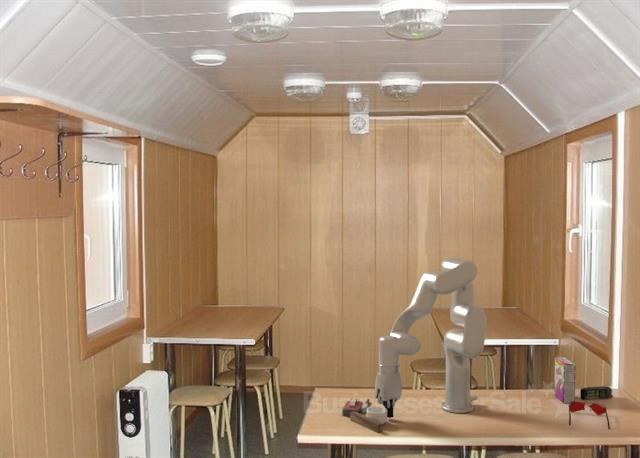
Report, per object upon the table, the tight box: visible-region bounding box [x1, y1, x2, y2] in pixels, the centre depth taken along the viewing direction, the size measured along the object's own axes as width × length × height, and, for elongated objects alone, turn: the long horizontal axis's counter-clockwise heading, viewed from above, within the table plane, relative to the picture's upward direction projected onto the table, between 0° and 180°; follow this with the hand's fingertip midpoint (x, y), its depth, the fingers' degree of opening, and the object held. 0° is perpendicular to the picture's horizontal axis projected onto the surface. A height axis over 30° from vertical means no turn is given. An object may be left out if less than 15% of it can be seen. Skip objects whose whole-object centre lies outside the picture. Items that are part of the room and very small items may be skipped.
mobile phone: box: [579, 385, 614, 401], centre depth 273 cm, size 5×3×15 cm
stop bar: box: [349, 411, 383, 434], centre depth 242 cm, size 2×16×3 cm, turn 35°
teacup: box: [366, 405, 388, 426], centre depth 245 cm, size 10×8×5 cm
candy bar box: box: [554, 356, 576, 405], centre depth 272 cm, size 11×5×16 cm, turn 179°
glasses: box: [568, 400, 611, 430], centre depth 248 cm, size 14×16×5 cm
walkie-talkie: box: [341, 398, 370, 418], centre depth 261 cm, size 9×4×20 cm
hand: (388, 416), depth 249 cm, fingers closed
